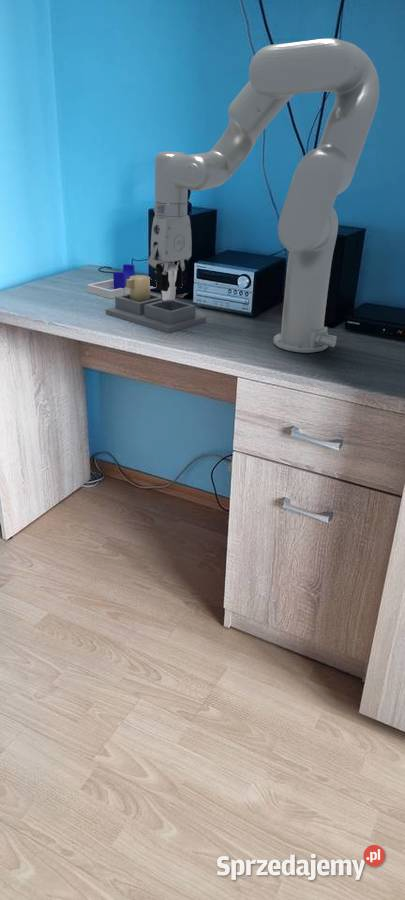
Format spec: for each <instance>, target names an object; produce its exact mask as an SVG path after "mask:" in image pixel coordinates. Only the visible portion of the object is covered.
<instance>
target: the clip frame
mask: <svg viewBox="0 0 405 900" xmlns="http://www.w3.org/2000/svg"><path fill="white" fill-rule="evenodd" d="M110 288H113V289H110ZM151 289H152V290H153V289H157V286H156V287H153V286H150V290H151ZM86 293H91V294H93V295H97V296H101V297H104V298H107V299H115V297H116V296H120V295H125V294H129V293H130V289H129V288H126V287H125V288H118V289H114V279H113V278H111V279H108V280H104V281H98V282H93V283H89V284H86Z"/></svg>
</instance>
